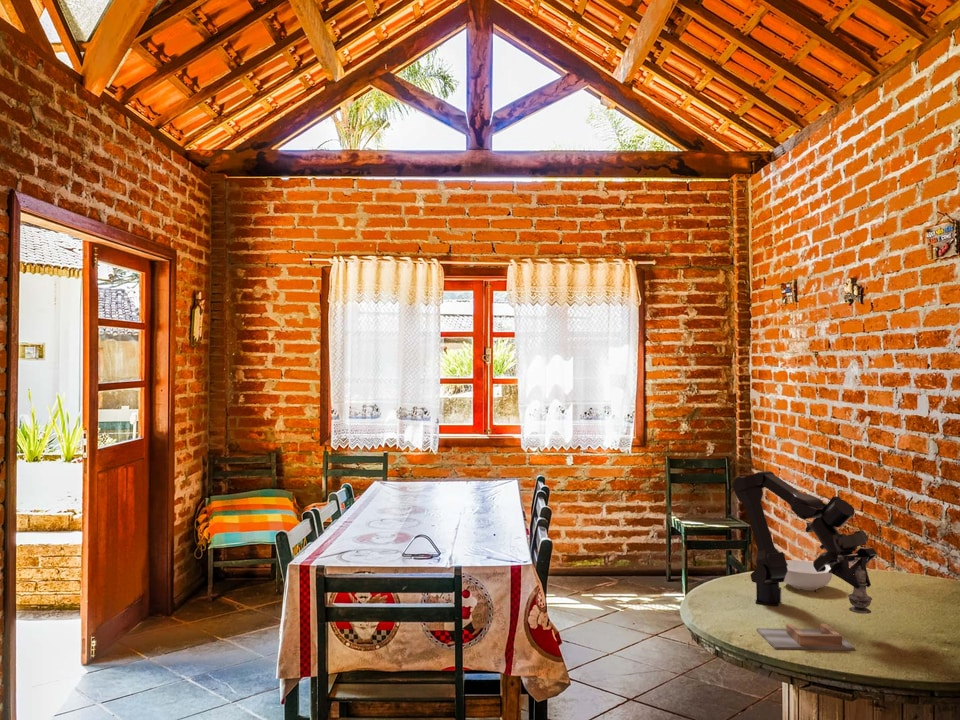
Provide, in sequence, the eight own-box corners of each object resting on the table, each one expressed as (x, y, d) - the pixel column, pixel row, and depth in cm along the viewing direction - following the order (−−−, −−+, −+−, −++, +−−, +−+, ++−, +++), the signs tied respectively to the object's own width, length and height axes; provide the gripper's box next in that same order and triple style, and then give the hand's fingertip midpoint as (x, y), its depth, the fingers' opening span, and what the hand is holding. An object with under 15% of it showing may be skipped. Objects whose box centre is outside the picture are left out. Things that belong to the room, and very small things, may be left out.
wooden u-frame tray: (756, 630, 201) (756, 619, 201) (831, 631, 200) (831, 620, 200) (774, 648, 187) (774, 636, 187) (855, 650, 186) (854, 637, 186)
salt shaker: (875, 614, 193) (874, 569, 194) (851, 613, 195) (850, 567, 195) (868, 608, 199) (868, 563, 199) (845, 606, 200) (844, 562, 201)
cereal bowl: (765, 583, 249) (765, 562, 249) (802, 578, 255) (802, 557, 255) (806, 596, 233) (805, 574, 233) (844, 591, 239) (843, 569, 240)
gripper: (821, 522, 197) (857, 574, 187) (871, 517, 205) (908, 567, 194) (798, 546, 205) (831, 597, 194) (847, 540, 212) (881, 589, 201)
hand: (864, 587), depth 196 cm, fingers closed on salt shaker, 4 cm apart
